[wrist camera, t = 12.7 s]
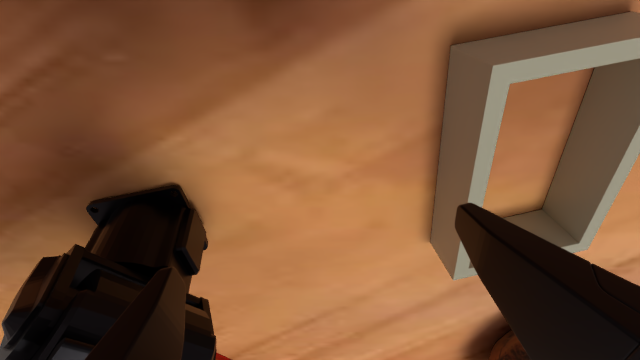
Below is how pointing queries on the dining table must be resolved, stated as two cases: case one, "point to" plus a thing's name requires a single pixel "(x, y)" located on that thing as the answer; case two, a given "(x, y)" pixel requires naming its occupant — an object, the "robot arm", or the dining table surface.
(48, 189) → the dining table surface
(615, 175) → the rectangular open frame
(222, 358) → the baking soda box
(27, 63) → the dining table surface
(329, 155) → the dining table surface
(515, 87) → the dining table surface
